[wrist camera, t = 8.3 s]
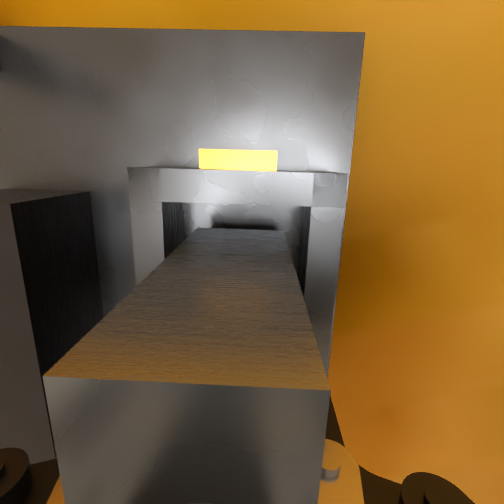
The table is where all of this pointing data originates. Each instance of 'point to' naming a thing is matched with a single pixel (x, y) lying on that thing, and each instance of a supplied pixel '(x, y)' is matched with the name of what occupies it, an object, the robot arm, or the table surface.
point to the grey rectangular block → (197, 384)
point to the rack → (157, 175)
